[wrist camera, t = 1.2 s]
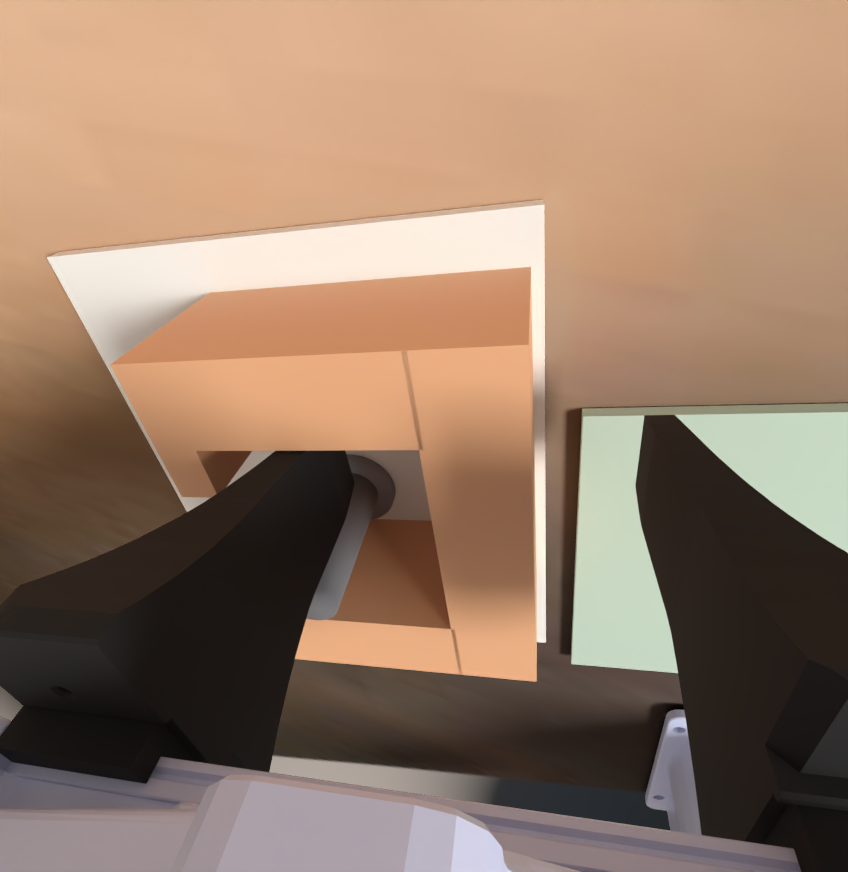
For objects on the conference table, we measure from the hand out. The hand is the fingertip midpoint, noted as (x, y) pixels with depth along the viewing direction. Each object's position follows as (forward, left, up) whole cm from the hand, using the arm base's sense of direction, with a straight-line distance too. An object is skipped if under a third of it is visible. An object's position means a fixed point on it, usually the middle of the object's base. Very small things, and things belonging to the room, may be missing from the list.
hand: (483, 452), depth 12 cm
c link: (-2, +3, -2) cm, 4 cm away
